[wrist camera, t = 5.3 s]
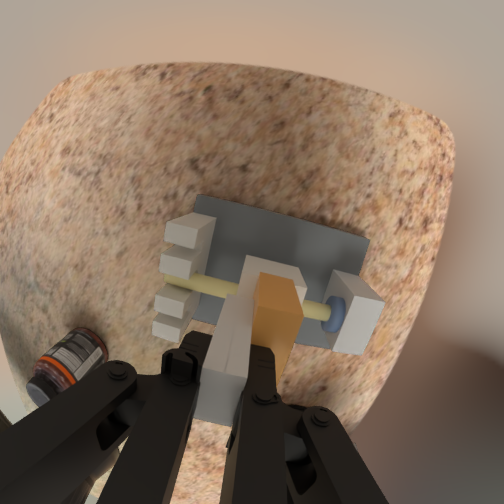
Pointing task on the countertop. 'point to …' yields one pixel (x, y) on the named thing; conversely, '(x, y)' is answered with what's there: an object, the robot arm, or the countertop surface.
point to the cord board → (270, 248)
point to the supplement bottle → (66, 364)
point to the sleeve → (274, 305)
